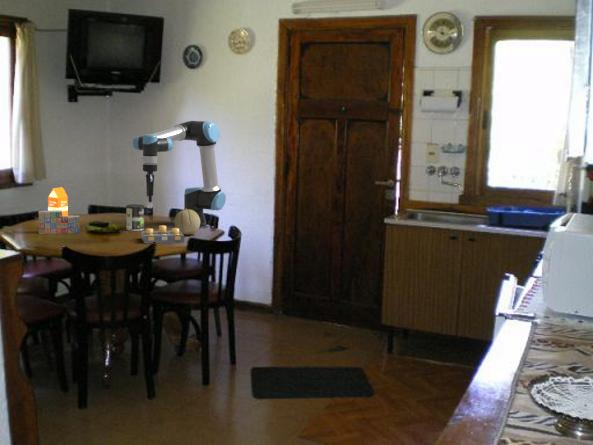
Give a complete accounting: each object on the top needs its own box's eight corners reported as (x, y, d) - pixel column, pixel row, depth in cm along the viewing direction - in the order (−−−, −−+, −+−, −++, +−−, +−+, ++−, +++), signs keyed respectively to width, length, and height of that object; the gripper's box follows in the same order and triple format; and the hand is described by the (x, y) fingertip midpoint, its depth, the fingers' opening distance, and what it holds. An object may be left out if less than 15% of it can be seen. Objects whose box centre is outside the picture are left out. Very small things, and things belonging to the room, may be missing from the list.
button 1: (152, 237, 386) (152, 228, 385) (153, 238, 383) (153, 229, 382) (145, 237, 385) (145, 228, 384) (146, 239, 381) (146, 229, 380)
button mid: (165, 234, 388) (165, 225, 388) (166, 235, 385) (166, 226, 384) (158, 234, 387) (158, 225, 386) (159, 235, 383) (159, 226, 382)
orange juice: (48, 220, 433) (47, 188, 429) (58, 218, 441) (57, 186, 438) (58, 221, 430) (58, 189, 427) (68, 219, 438) (67, 187, 435)
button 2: (178, 236, 391) (178, 227, 390) (179, 238, 387) (179, 229, 386) (171, 237, 390) (171, 228, 389) (172, 238, 386) (172, 229, 385)
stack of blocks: (79, 231, 403) (79, 210, 401) (79, 233, 397) (79, 211, 395) (39, 232, 396) (38, 210, 394) (38, 234, 391) (38, 212, 389)
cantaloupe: (188, 238, 396) (189, 211, 394) (168, 234, 404) (169, 208, 401) (205, 234, 409) (206, 208, 406) (186, 231, 416) (186, 205, 414)
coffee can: (146, 228, 420) (147, 204, 417) (139, 231, 410) (139, 207, 408) (130, 227, 422) (130, 203, 419) (123, 230, 412) (123, 206, 410)
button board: (179, 237, 396) (179, 230, 396) (184, 242, 383) (184, 234, 382) (141, 238, 389) (141, 230, 389) (144, 243, 376) (144, 235, 376)
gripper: (141, 162, 382) (141, 206, 386) (144, 165, 370) (144, 209, 374) (155, 162, 384) (155, 205, 388) (158, 165, 372) (158, 209, 376)
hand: (149, 207), depth 381 cm, fingers closed
